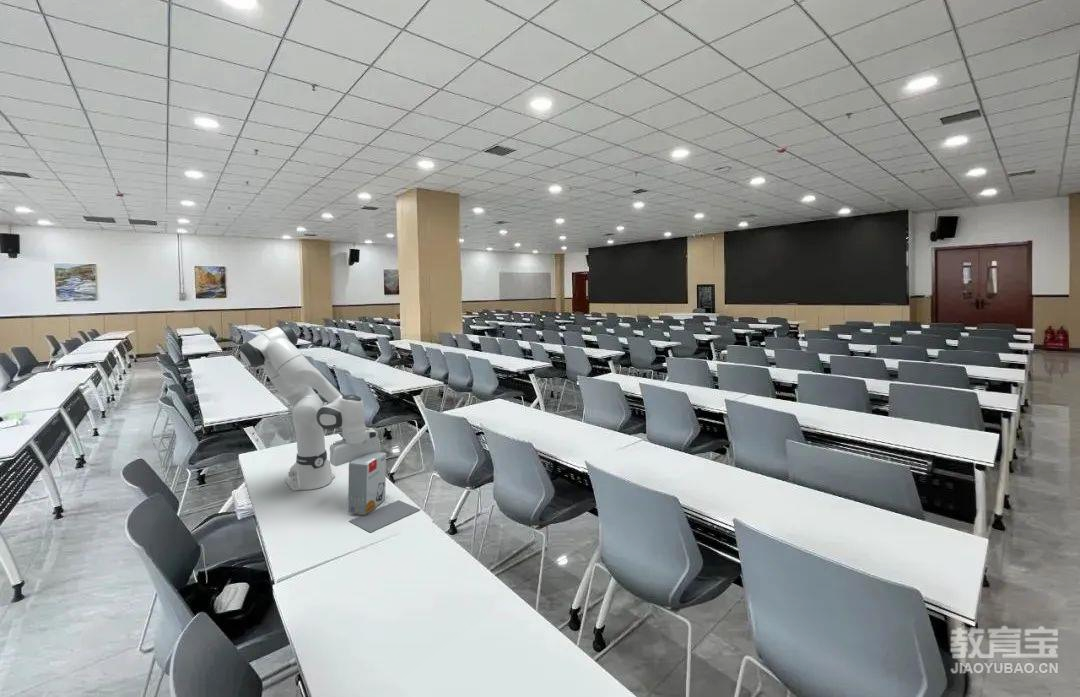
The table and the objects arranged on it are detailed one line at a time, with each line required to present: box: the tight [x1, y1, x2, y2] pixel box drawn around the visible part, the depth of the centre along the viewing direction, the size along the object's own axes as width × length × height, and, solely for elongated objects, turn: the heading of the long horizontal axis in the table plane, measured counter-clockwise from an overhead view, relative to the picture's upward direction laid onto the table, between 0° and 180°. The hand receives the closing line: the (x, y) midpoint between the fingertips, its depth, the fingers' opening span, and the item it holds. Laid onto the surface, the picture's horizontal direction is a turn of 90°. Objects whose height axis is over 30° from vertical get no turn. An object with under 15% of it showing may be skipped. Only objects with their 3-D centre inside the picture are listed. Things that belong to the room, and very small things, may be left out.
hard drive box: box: [347, 451, 387, 516], centre depth 198 cm, size 16×8×20 cm, turn 168°
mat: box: [348, 499, 421, 534], centre depth 192 cm, size 14×22×1 cm, turn 141°
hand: (357, 469), depth 200 cm, fingers closed
